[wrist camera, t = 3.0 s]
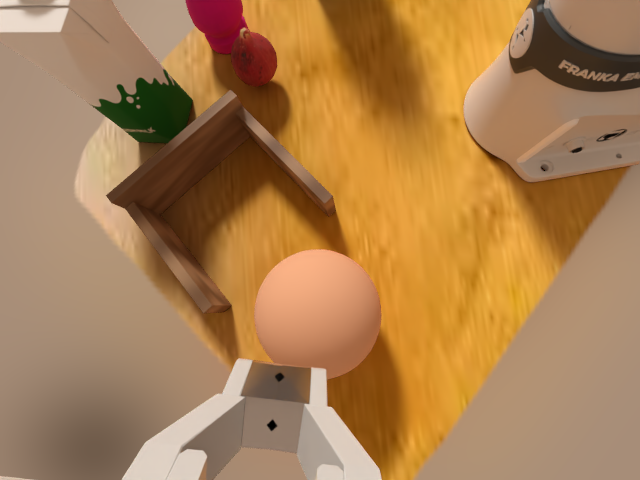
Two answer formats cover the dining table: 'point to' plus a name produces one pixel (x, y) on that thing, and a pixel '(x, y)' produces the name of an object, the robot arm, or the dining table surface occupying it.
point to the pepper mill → (218, 21)
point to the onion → (253, 58)
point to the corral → (185, 171)
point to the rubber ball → (318, 312)
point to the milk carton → (98, 62)
